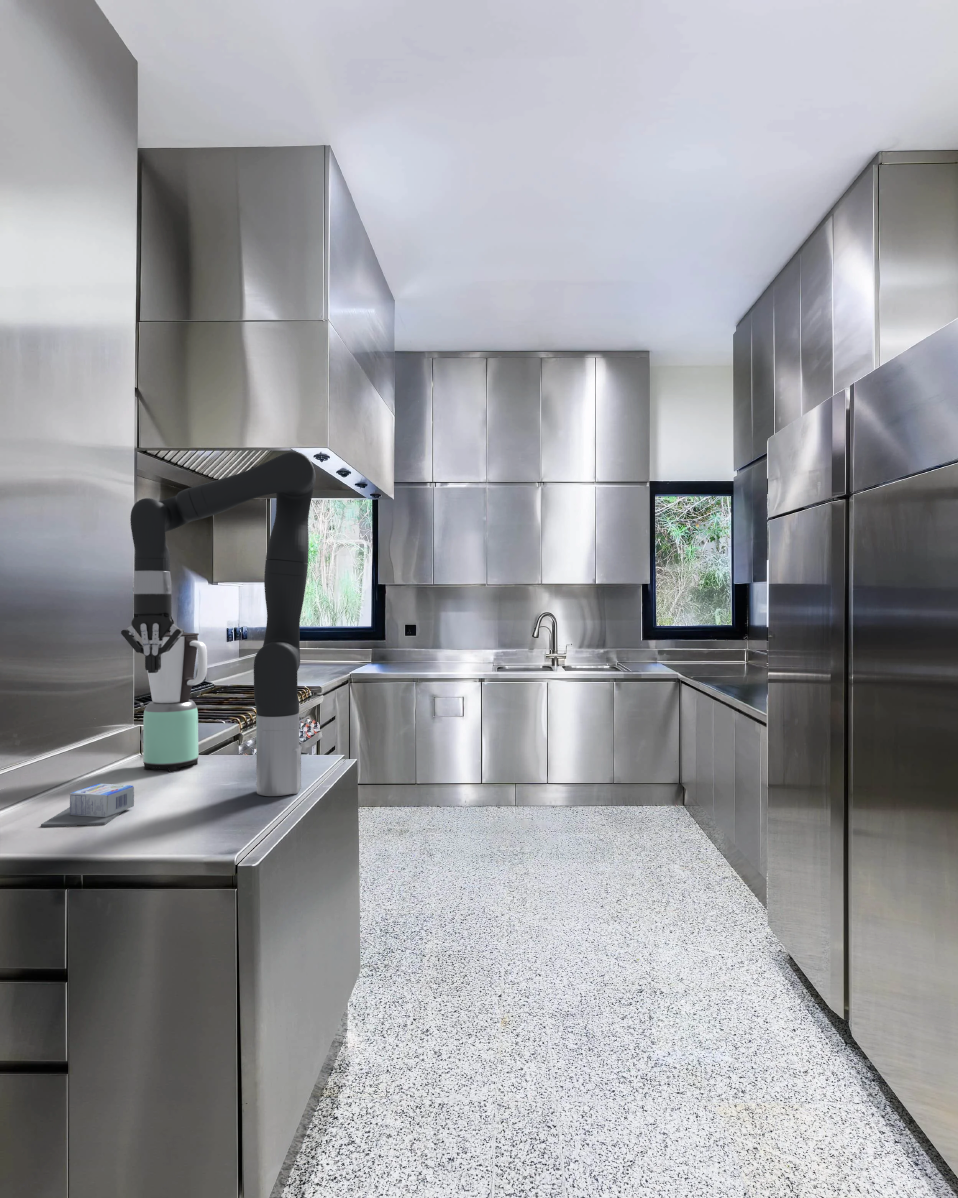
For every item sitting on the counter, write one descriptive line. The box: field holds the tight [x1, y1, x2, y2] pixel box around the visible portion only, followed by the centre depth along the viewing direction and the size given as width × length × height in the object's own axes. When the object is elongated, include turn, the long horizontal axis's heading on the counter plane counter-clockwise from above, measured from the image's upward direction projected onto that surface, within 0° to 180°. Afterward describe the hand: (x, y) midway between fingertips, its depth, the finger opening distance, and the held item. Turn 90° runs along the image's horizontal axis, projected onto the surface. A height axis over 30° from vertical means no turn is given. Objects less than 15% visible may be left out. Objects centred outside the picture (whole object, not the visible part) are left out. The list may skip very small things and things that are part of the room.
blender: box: [139, 629, 208, 773], centre depth 186 cm, size 19×13×35 cm
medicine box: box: [69, 783, 135, 817], centre depth 145 cm, size 8×4×9 cm
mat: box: [40, 806, 125, 828], centre depth 143 cm, size 12×12×1 cm
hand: (152, 672), depth 157 cm, fingers closed
